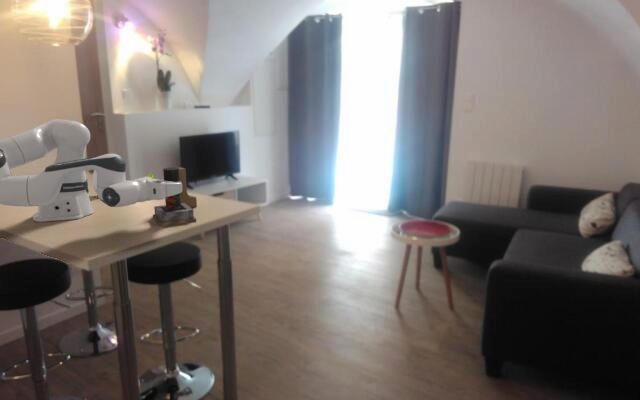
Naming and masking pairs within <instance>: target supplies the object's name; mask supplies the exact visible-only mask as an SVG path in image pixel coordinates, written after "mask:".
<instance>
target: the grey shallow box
mask: <svg viewBox="0 0 640 400" xmlns="http://www.w3.org/2000/svg"><path fill="white" fill-rule="evenodd" d="M153 211H154V214H152V218H153V220H155V222H156V223H157V224H158V225H159V227H165V226H172V225H173V226H174V225H178V224H186V223H194V222H197V217H196V216H194V215H195V214H194V208H193V207H192V208H190V207H189V206H188V205H187V204H186V203H181V206H178V207H167V206H166V204H165V205H157V206H155V205H154V209H153Z"/></svg>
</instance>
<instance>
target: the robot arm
mask: <svg viewBox="0 0 640 400" xmlns="http://www.w3.org/2000/svg"><path fill="white" fill-rule="evenodd" d="M90 140H91V132H90V130H89V128H88V127H87V126H86V125H84V124H83V123H81V122H79V121H77V120H70V119H60V118H58V119H57V118H55V119H51V120H49V121H46V122H45V123H42V124H40V125H38V126H36V127H34V128H32V129H30V130H26V131H23V132H20V133H18V134H15V135H11V136H9V137H5V138H2V139H1V140H0V205H3V206H10V207H22V208H23V207H37V211H36V212H35V213H33V214H32V220H33V221H35V222H38V223H42V222H52V221H55V222H56V221H67V220H69V221H70V220H78V219H81V218H83V217H87V216H89V215H91V214H94V212H95V209H94V208H93V206H92V203H91V199H90V195H89V192H90V189H89V188H90V187H89V182H88V181H89V180H88V179H87V177H86V175H87V174H86V172H87V171H91V170H92V171H94V170H96V172H97V191H98V194H97V198H98V199H99V201H101V202H102V203H103V204H105V205H106V206H108V207H110V208H123V207H127V206H132V205H135V204H137V203H144V202H147V201H153V200H154V201H155V200H157V201H158V200H159V201H162V200H165V198H166V197H169V196H173V195H176V194H179V193H181V192H182V182H180V181H177V182H172V181H165V180H164V179H158V178H154V179H152V178H151V177H145V176H144V177H138V178H134V179H133V180H126V178H127V177H126V170H127V168H126V166H127V161H126V160H125V159H124V158H123V157H122V156H121V155H120V154H118V153H105V154H101V155H98V156H94V157H93V156H92V157H89V158H88V157H87V158H86V151H87V150H86V149H87V145H88V144H89V143H90ZM55 150H56V157H55V159H54V161H53V163H52V164H51V165H48V166H46V167H45V169H44V171H42V172H39V173H37V174H23V175H13V174H12V171H11V170H10V169H13V168H17V167H21V166H23V165H26V164H28V163H31V162H34V161H38V160H41V159H43V158H44V157H46V155H48V154H50V153H51V152H53V151H55Z"/></svg>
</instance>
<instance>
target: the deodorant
mask: <svg viewBox="0 0 640 400" xmlns="http://www.w3.org/2000/svg"><path fill="white" fill-rule="evenodd" d="M162 171H163V172H162V173H163V180H165V181H172V182H177V181H180V178H179V168H178V167H173V166H172V167H165V168H163V170H162ZM164 200H165V201H164V203H165V205H166V206H167V207H178V206H181V195H180V193H179V194H176V195H173V196H169V197H166V198H165V199H164Z"/></svg>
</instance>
